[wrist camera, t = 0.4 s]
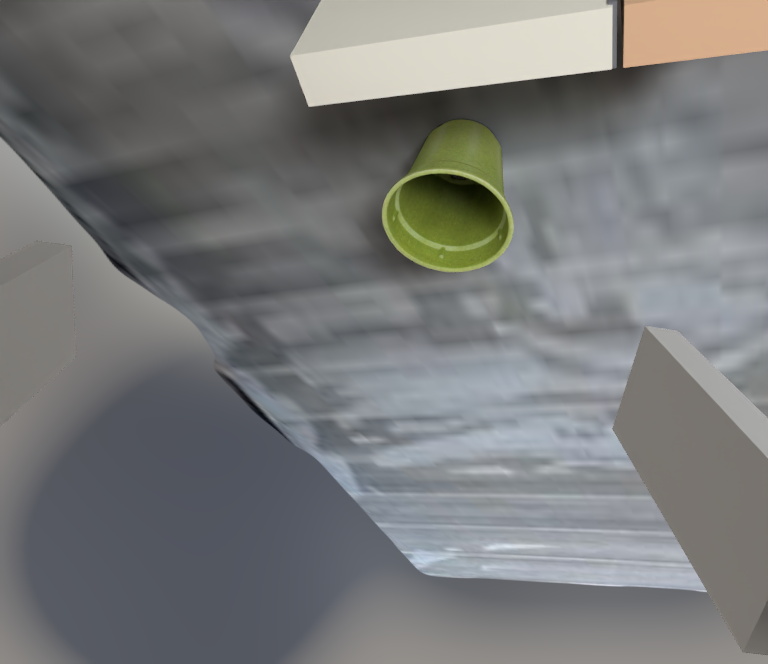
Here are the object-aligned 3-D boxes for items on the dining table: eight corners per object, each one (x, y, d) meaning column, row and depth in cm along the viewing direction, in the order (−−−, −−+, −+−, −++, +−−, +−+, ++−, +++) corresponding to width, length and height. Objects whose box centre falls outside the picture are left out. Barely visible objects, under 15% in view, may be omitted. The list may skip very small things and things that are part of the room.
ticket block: (345, -46, 42) (289, 54, 35) (614, -100, 37) (617, 4, 29) (359, 4, 45) (309, 108, 37) (613, -40, 39) (616, 70, 32)
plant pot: (399, 188, 56) (378, 260, 51) (408, 88, 49) (385, 159, 43) (508, 207, 55) (499, 282, 50) (535, 108, 48) (527, 184, 43)
